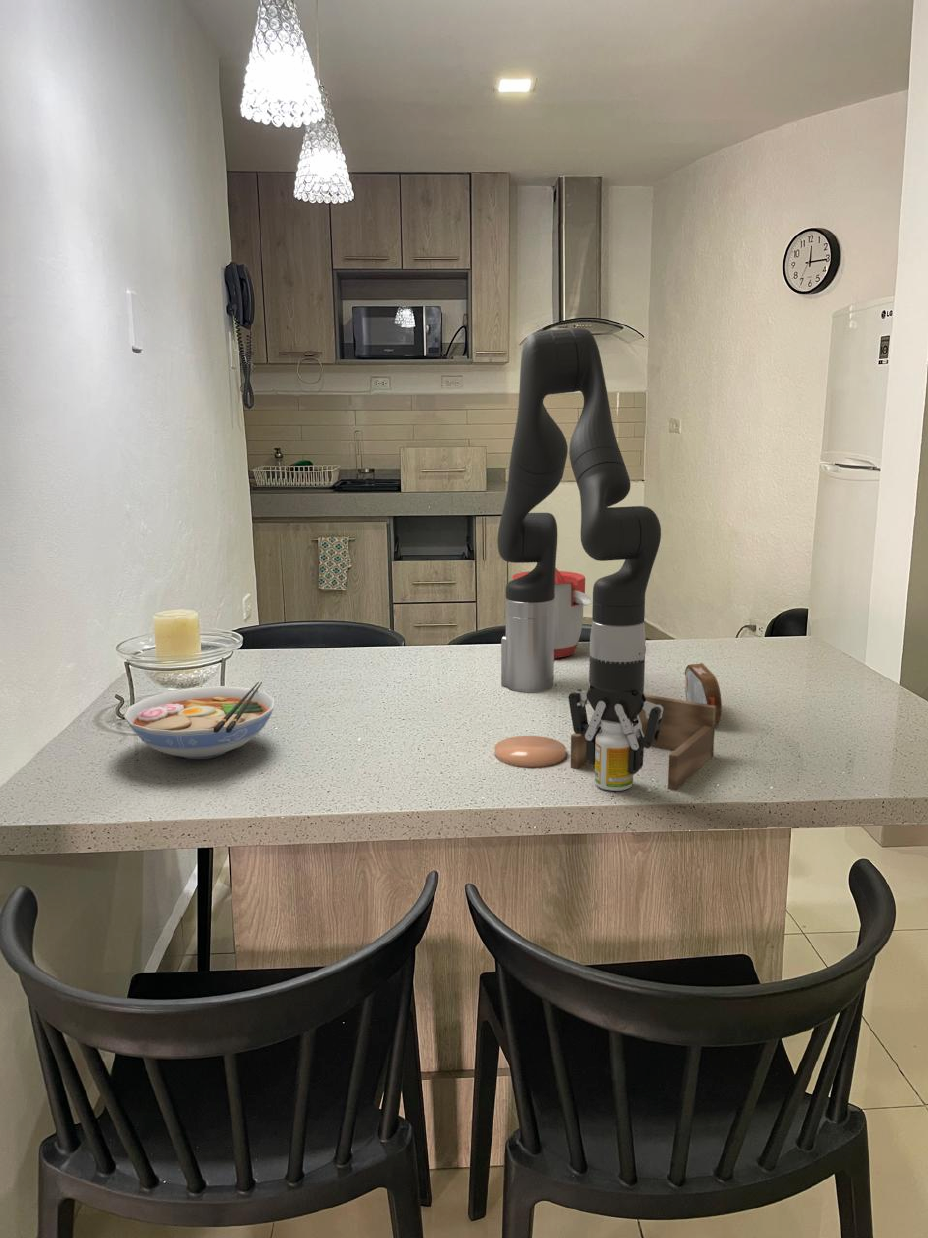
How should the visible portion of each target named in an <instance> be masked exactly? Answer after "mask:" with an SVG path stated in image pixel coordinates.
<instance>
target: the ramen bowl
mask: <svg viewBox="0 0 928 1238" xmlns="http://www.w3.org/2000/svg"><path fill="white" fill-rule="evenodd" d="M262 683H263V682H262V681H261V682H259V681H258V682H256V684H255V685H254V686H253V687H252V688H250V687H242V686H229V685H228V686H225V685H216V686H215V685H213V686H201V687H200V686H198V687H197V686H195V687H190V688H184V689H178V690H170V691H165V692H162V693H159V694H155V695H151V696H148V697H145V698H143V699H141V700H139V701H136V702H135V703H134V704H132V705H129V706H128V707H127V709H126V711H125V713H124V714H123V718H124V719H125V720H126V721H125V722H126V723H127V724H128V725H129V727H130V728H131V729H132V730H133V732H134V733H135V734H136V735H137V737H139V738H140V739H141V741H142V742H144V743H145V744H146V745H147V746H148V747H149V748H152V749H154V750H155V751H158V752H161V753H164V754H167V755H170V756H174V757H182V758H185V759H188V760H207V759H213V758H216V757H219V756H223V755H224V754H226V753H227V752H229V751H232V750H235V749H237V748H240V747H242V746H244V745H245V744H246V743H248V742H250V741H251V740H252V739H253V738H255V737H256V736H257V735H259V733H260V732H262V730H263V728H265V726H266V724H267V723H268V721H269V719H270V718H271V715H272V713H273V711H274V708H275V699H276V698H274V697H273V696H271V695H270V694H268V693H267V692H266V691H263V690H259V688H260V687H261V685H262ZM257 685H258V686H257Z"/></svg>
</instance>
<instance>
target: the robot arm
mask: <svg viewBox="0 0 928 1238" xmlns="http://www.w3.org/2000/svg"><path fill="white" fill-rule="evenodd" d="M520 357H521V359H520V370H519V371H520V373H519V374H520V375H519V390H518V393H519V394H518V409H517V415H516V416H517V418H516V424H515V429H514V435H513V441H512V447H511V453H510V457H509V467H508V468H509V470H508V480H507V489H506V496H505V500H504V505H503V509H502V512H501V516H500V520H499V524H498V525H499V526H498V531H497V549H498V553H499V554H498V555H499V556H500V558H501V559H502V560H504V561H505V562H508V563H513V564H515V563H516V564H518V563H519V564H521V563H522V564H523V563H524V564H525V563H528V564H529V563H530V564H531V563H536V566H535V567H534V568H533V569H531V572H529V573H528V574H526V575H524V576H522V577H520V578H517V579H514V580H513V579H512V580H510V581H509V582H508V583H506V586H505V635H503V636H502V637H501V640H500V643H501V644H500V647H501V648H500V649H501V650H500V655H501V656H500V657H501V658H500V662H501V663H500V668H501V669H500V671H501V672H500V676H501V677H500V678H501V679H500V680H501V681H500V685H501V686H503V687H506V688H507V689H509V690H512V691H517V692H524V693H526V692H527V693H535V692H536V693H537V692H544V691H548V690H550V689H552V688H553V687H554V678H555V675H554V670H555V668H554V666H555V659H554V607H555V568H556V560H557V551H558V524H557V520H556V518H555V516H554V515H553V514H552V513H550V512H531V511H532V510H533V509H534V508H536V507H537V506H538V505H540V504H541V503H542V502H543V501H544V500H545V499H546V498H548V497H549V496H550V495H551V494H552V493H554V491H555V490H556V489H557V487H558V486H559V484H560V482H561V481H562V479H563V476H564V473H565V467H566V462H567V457H568V455H569V461H570V466H571V468H572V471H573V476H574V479H575V482H576V486H577V487H578V491H579V492H578V493H579V498H580V515H581V516H580V543H581V546H582V549H583V550H584V552H585V553H586V554H587V556H589V557H590V559H591V558H592V559H593V560H595V561H600V562H601V561H602V562H603V561H604V562H605V561H607V562H608V561H618V560H619V561H620V560H624V562H623V564H622V566H621V568H619V570H618V571H616V572H614V573H612V574H610V575H609V574H608V575H605V576H603V577H600V578H598V579H596V581H595V583H594V584H593V586H592V587H593V588H592V614H591V615H592V616H591V617H592V620H591V621H592V623H591V629H590V635H589V671H588V672H589V674H588V675H589V676H588V682H589V688H588V690H586V691H585V690H582V689H580V688H579V689H576V690H574V691H573V692H570V693H569V694H568V696H567V697H568V698H567V699H568V704H569V709H570V716H571V722H572V728H573V732H574V733H576V734H581V735H583V736H584V737H585V738H586V758H587V760H588V764H589V765H590V766H592V767H595V740H596V735H597V734H598V733H599V732H600V731H601V730H602V729H601V720H606V721H612V722H617V723H621V725H622V728H623V731H624V733H625V735H627V737H628V740H629V743H630V745H631V748H630V749H629V774H633V775H635V774H637V773H638V772H639V771H640V770H641V769H642V768H643V766H644V749H650V748H651V746H652V745H653V744H655V743H656V742H657V741H658V738H659V733H660V729H661V725H662V721H663V717H664V713H665V709H666V708H665V705H664V704H661V703H660V704H658V705H656V704H653V703H651V702H648V701H646V698H645V696H644V694H645V692H644V688H645V687H644V686H645V669H646V666H645V665H646V653H647V646H646V641H647V640H646V639H647V638H646V629H645V616H646V615H645V613H646V612H645V611H646V610H645V609H646V608H645V607H646V592H647V587H648V585H649V580H650V577H651V573H652V571H653V567H654V563H655V561H656V558H657V555H658V552H659V549H660V543H661V539H662V528H661V527H662V525H661V522H660V520H659V517H658V516H657V514H656V513H655V511H654V510H653V509H651V508H650V507H648V506H642V505H636V506H635V505H634V506H616V507H615V506H614V505H616V504H618V503H620V502H622V501H623V500H624V499H625V498H626V497H627V496H628V495H629V493H630V491H631V480H630V476H629V473H628V469H627V467H626V465H625V461H624V459H623V456H622V452H621V450H620V447H619V444H618V441H617V438H616V433H615V429H614V425H613V419H612V414H611V407H610V401H609V395H608V390H607V388H608V387H607V383H606V377H605V375H604V373H605V372H604V367H603V363H602V358H601V354H600V349H599V346H598V344H597V341H596V338H595V337H594V335H593V333H592V332H591V331H590V330H589V329H587V328H583V327H574V328H573V327H572V328H559V329H549V330H540V331H536V332H535V331H534V332H532V333H530V334H529V335H527V337H526V338H525V341H524V343H523V346H522V352H521V356H520ZM575 392H577V393H578V392H581V394H582V396H583V407H582V409H581V413H580V415H579V419H578V421H577V424H576V425H575V428H574V429H573V432H572V435H571V438H570V443H569V447H568V442H567V439H566V437H565V435H564V433H563V431H562V430H561V428H560V427H559V425H558V424H557V423H556V421H555V420H554V418H553V417H552V416H551V414H550V413H549V412H548V410H547V408H546V407H545V405H544V400H545V398H546V397H547V396H549V395H556V394H557V395H558V394H567V393H575ZM568 449H569V452H568ZM568 453H569V454H568ZM588 703H589V705H590V706H591V708H592V710H593V711H594V712H593V715H592V717H591V718H590V721H589V719H588V714H587V707H586V706H587V704H588ZM642 709H644V710H645V712H646V718H647V719H649V720H648V724H647V728H646V732H645V736H644V734H643V732H642V724H641V721H640V718H639V715H638V714H639V713H640V712H641V711H642ZM588 724H589V725H588Z"/></svg>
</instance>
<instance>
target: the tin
mask: <svg viewBox="0 0 928 1238" xmlns="http://www.w3.org/2000/svg"><path fill="white" fill-rule="evenodd" d="M684 675H685V698H686V701H689V702H695V703H701V704H707V705H713V706H716V714H715V724H719V723H720V722H721V719H722V712H723V711H722V710H723V705H722V704H723V703H722V702H723V700H722V695H721V693H722V692H721V689H720V685H719V682H718V679H717V677H716V675H715V674H714V673H713V672H712V671H711V670H710V669H709V668H708V667H707V666H706V665H705V664H704V663H703V662H699V663H694V664H688V665H686V667H685V670H684Z"/></svg>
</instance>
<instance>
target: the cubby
mask: <svg viewBox="0 0 928 1238" xmlns="http://www.w3.org/2000/svg"><path fill="white" fill-rule="evenodd" d="M644 696H645V698H646V701H648V702H651V703H653V704H656V705H658V704H660V703H661V704H664V705H665V708H666V709H665V713H664V717H663V721H662V725H661V729H660V733H659V738H658V741H657V742H656V743H655V744H653V745H652V746H651V747H652V748H656V749H657V748H658V749H661V750H663V749H664V750H668V751H672V752H670V753H669V755H668V773H667V774H668V775H667V776H668V777H667V789H669V790H673V791H677V790H678V789H679V788H680V787H681V786H682V785H684V783H685V782H687V781H688V780H689V779H690V777H692V776H694V774H695V773H697V771H699V769H701V768H702V767H703V766H704V765H705V764H706V763H708V761H709V760H710V759H711V758H713V757H714V749H715V730H716V723H715V714H716V706H713V705H707V704H701V703H695V702H689V701H687V700H683V699H676V698H671V697H665V696H664V697H663V696H659V695H653V694H645V693H644ZM638 715H639V718H640V721H641V724H642V732H643V734H644V736H645V732H646V728H647V724H648V720H649V719H647V718H646V712H645V710H644V709H642V711H641V712H640V713H639V714H638ZM588 725H589V723H588ZM601 731H602V730H601ZM651 747H650V748H651ZM587 763H589V761H588V760H587V758H586V738H585V737H584V736H583V735H581V734H576V733H575V732H574V733H573V734H571V735H570V768H573V769H580V768H581V767H583V766H584V765H585V764H587Z"/></svg>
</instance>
